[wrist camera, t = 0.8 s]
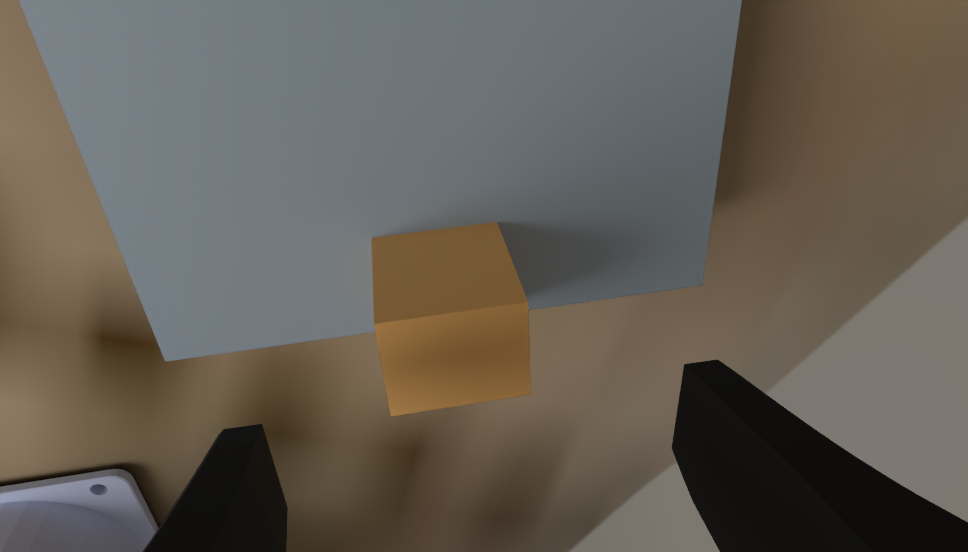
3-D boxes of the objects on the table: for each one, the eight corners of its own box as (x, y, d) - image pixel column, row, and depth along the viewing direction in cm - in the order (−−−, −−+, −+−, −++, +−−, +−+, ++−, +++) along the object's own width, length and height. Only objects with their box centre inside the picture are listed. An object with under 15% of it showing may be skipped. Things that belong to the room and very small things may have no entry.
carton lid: (170, 349, 17) (122, 469, 13) (-67, -248, 10) (-268, -304, 7) (694, 275, 18) (770, 367, 15) (767, -289, 12) (928, -351, 9)
